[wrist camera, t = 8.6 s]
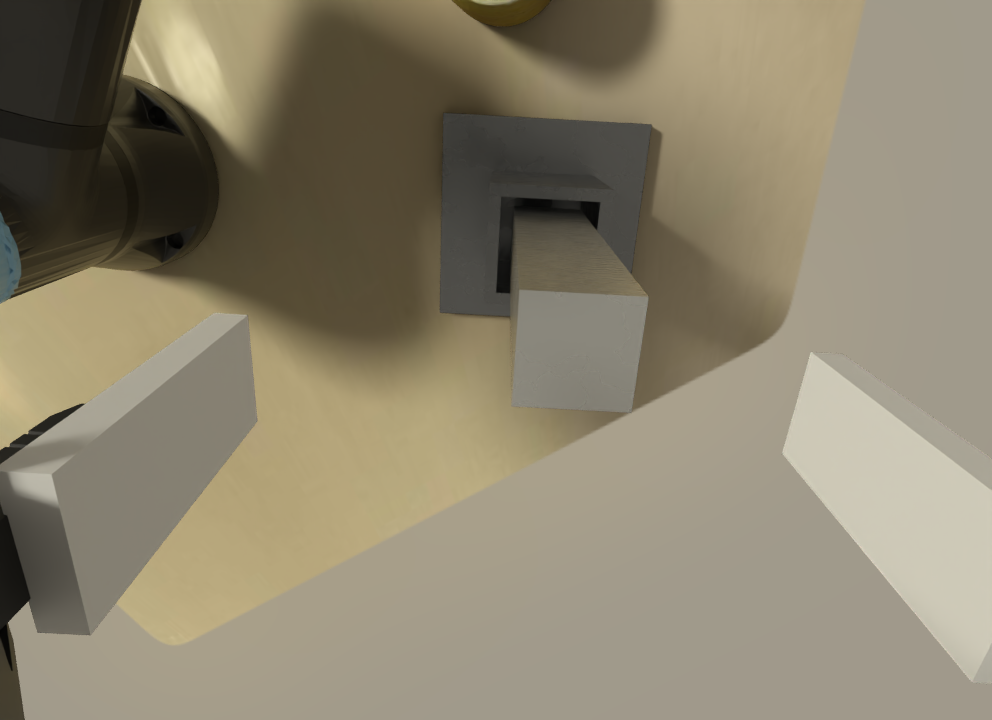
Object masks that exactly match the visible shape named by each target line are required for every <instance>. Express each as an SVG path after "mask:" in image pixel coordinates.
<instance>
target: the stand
mask: <svg viewBox="0 0 992 720" xmlns="http://www.w3.org/2000/svg"><path fill="white" fill-rule="evenodd" d="M651 126H652V125H651V124H633V123H615V122H597V121H579V120H561V119H543V118H525V117H508V116H490V115H472V114H454V113H443V166H442V221H441V275H440V312H441V313H459V314H477V315H495V316H510V261H511V245H512V229H513V212H514V206H526V207H544V208H562V209H580V210H581V211H582V212H583V213H584V215H585V216H586V217H587V219H588V220H589V221H590V222H591V224H592V225H593V226H594V228H595V229H596V230H597V231H598V233H599V234H600V235H601V236H602V238H603V239H604V240H605V242H606V243H607V244H608V245H609V247H610V248H611V249H612V251H613V252H614V253H615V254H616V256H617V257H618V258H619V259H620V261H621V262H622V263H623V265H624V266H625V267H626V268H627V270H628V271H629V272H630V274H631V272H632V265H633V257H634V250H635V243H636V236H637V228H638V221H639V214H640V206H641V199H642V192H643V184H644V177H645V170H646V163H647V155H648V148H649V141H650V133H651Z"/></svg>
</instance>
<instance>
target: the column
mask: <svg viewBox="0 0 992 720" xmlns="http://www.w3.org/2000/svg"><path fill="white" fill-rule="evenodd" d="M648 299H649V296H648V295H647V294H646V293H645V291H644V290H643V289H642V288H641V286H640V285H639V284H638V282H637V281H636V280H635V279H634V277H633V276H632V275H631V274H630V272H629V271H628V270H627V268H626V267H625V266H624V265H623V263H622V262H621V261H620V259H619V258H618V257H617V256H616V254H615V253H614V252H613V251H612V249H611V248H610V247H609V245H608V244H607V243H606V242H605V240H604V239H603V238H602V236H601V235H600V234H599V233H598V231H597V230H596V229H595V228H594V226H593V225H592V224H591V222H590V221H589V220H588V219H587V217H586V216H585V215H584V213H583V212H582V211H581V210H580V209H562V208H544V207H526V206H514V212H513V229H512V245H511V261H510V320H511V400H512V406H516V407H535V408H553V409H571V410H589V411H608V412H626V413H631V412H632V406H633V399H634V392H635V386H636V379H637V372H638V366H639V359H640V352H641V346H642V339H643V332H644V326H645V319H646V312H647V306H648Z"/></svg>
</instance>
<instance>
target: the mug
mask: <svg viewBox="0 0 992 720" xmlns="http://www.w3.org/2000/svg"><path fill="white" fill-rule="evenodd" d="M452 1H453V2H454V3H455V4H456V5H457V6H459V7H460V8H461V9H462V10H463V11H464V12H466V13H467V14H468V15H470V16H471V17H472V18H474V19H476V20H478V21H480V22H482V23H485V24H489V25H492V26H513V25H517V24H521V23H523V22H526V21H528V20H529V19H531V18H533V17H534V16H536V15H537V14H538V13H539V12H540V11H542V10H543V9H544V8H545V7H546V6H547V5H548V4H549V2H550V1H551V0H452Z"/></svg>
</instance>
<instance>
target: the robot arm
mask: <svg viewBox="0 0 992 720" xmlns="http://www.w3.org/2000/svg"><path fill="white" fill-rule="evenodd" d="M141 1H142V0H0V303H2V302H4V301H6V300H8V299H10V298H13V297H15V296H18V295H21V294H23V293H26V292H28V291H31V290H33V289H36V288H39V287H41V286H44V285H46V284H49V283H51V282H54V281H57V280H59V279H62V278H64V277H67V276H69V275H72V274H75V273H77V272H80V271H82V270H85V269H87V268H90V267H99V268H108V269H116V270H126V271H135V270H145V269H151V268H155V267H158V266H162V265H164V264H167V263H169V262H171V261H174V260H176V259H178V258H180V257H182V256H184V255H186V254H187V253H189V252H190V251H191V250H193V249H194V248H195V247H196V246H197V245H198V244H199V243H200V242H201V241H202V239H203V238H204V237H205V235H206V234H207V232H208V231H209V229H210V227H211V225H212V222H213V220H214V217H215V214H216V209H217V204H218V194H219V188H218V177H217V171H216V166H215V162H214V159H213V156H212V153H211V151H210V148H209V146H208V144H207V142H206V140H205V138H204V136H203V134H202V133H201V131H200V129H199V128H198V126H197V125H196V124H195V122H194V121H193V120H192V118H191V117H190V116H189V115H188V114H187V112H186V111H185V110H184V109H183V108H182V107H181V106H180V105H179V104H178V103H176V102H175V101H174V100H173V99H172V98H171V97H169V96H168V95H167V94H165V93H164V92H162V91H161V90H159V89H158V88H156V87H154V86H152V85H150V84H148V83H146V82H144V81H142V80H139V79H137V78H134V77H131V76H127V75H123V74H122V73H123V70H124V66H125V62H126V58H127V54H128V51H129V47H130V43H131V39H132V35H133V32H134V28H135V24H136V20H137V16H138V13H139V9H140V5H141ZM256 422H257V411H256V400H255V389H254V378H253V367H252V356H251V345H250V334H249V323H248V315H240V314H225V313H213V314H212V315H210V316H209V317H208V318H206V319H205V320H203V321H202V322H201V323H199V324H198V325H196V326H195V327H193V328H192V329H191V330H189V331H188V332H186V333H185V334H184V335H182V336H181V337H179V338H178V339H177V340H175V341H174V342H172V343H171V344H169V345H168V346H167V347H165V348H164V349H162V350H161V351H160V352H158V353H157V354H155V355H154V356H153V357H151V358H150V359H148V360H147V361H145V362H144V363H143V364H141V365H140V366H138V367H137V368H136V369H134V370H133V371H131V372H130V373H128V374H127V375H126V376H124V377H123V378H121V379H120V380H119V381H117V382H116V383H114V384H113V385H112V386H110V387H109V388H107V389H106V390H104V391H103V392H102V393H100V394H99V395H97V396H96V397H95V398H93V399H92V400H90V401H89V402H88V403H86V404H79V405H77V406H74V407H72V408H69V409H67V410H64V411H62V412H59V413H57V414H54V415H52V416H50V417H49V418H47V419H46V420H44V421H43V422H41V423H40V424H38V425H37V426H35V427H34V428H32V429H31V430H29V433H28V434H24V435H22V436H21V437H19V438H18V439H16V440H15V441H13V442H12V443H10V447H4V448H3V449H1V450H0V720H25V719H24V712H23V705H22V698H21V691H20V684H19V677H18V670H17V664H16V656H15V649H14V643H13V638H12V635H11V632H10V629H9V625H8V622H9V621H10V620H11V619H12V617H13V616H14V615H15V614H16V613H17V612H18V611H19V610H20V609H21V608H22V607H23V606H24V605H25V604H26V603H27V602H28V601H29V605H30V608H31V612H32V615H33V619H34V622H35V625H36V629H37V632H38V633H57V634H76V635H91V634H92V633H93V632H94V630H95V629H96V628H97V627H98V625H99V624H100V623H101V621H102V620H103V619H104V618H105V616H106V615H107V614H108V612H109V611H110V610H111V609H112V607H113V606H114V605H115V604H116V602H117V601H118V600H119V598H120V597H121V596H122V595H123V593H124V592H125V591H126V589H127V588H128V587H129V586H130V584H131V583H132V582H133V580H134V579H135V578H136V577H137V575H138V574H139V573H140V571H141V570H142V569H143V568H144V566H145V565H146V564H147V562H148V561H149V560H150V559H151V557H152V556H153V555H154V553H155V552H156V551H157V550H158V548H159V547H160V546H161V544H162V543H163V542H164V541H165V539H166V538H167V537H168V535H169V534H170V533H171V532H172V530H173V529H174V528H175V526H176V525H177V524H178V523H179V521H180V520H181V519H182V517H183V516H184V515H185V514H186V512H187V511H188V510H189V508H190V507H191V506H192V505H193V503H194V502H195V501H196V499H197V498H198V497H199V496H200V494H201V493H202V492H203V490H204V489H205V488H206V487H207V485H208V484H209V483H210V481H211V480H212V479H213V478H214V476H215V475H216V474H217V473H218V471H219V470H220V469H221V467H222V466H223V465H224V464H225V462H226V461H227V460H228V458H229V457H230V456H231V455H232V453H233V452H234V451H235V449H236V448H237V447H238V446H239V444H240V443H241V442H242V440H243V439H244V438H245V437H246V435H247V434H248V433H249V431H250V430H251V429H252V428H253V426H254V425H255V424H256ZM782 454H783V455H784V456H785V458H786V459H787V460H788V461H789V462H790V464H791V465H792V466H793V467H794V468H795V470H796V471H797V472H798V473H799V474H800V476H801V477H802V478H803V479H804V481H805V482H806V483H807V484H808V485H809V487H810V488H811V489H812V490H813V491H814V492H815V494H816V495H817V496H818V497H819V499H820V500H821V501H822V502H823V503H824V505H825V506H826V507H827V508H828V509H829V511H830V512H831V513H832V514H833V515H834V517H835V518H836V519H837V520H838V521H839V523H840V524H841V525H842V526H843V528H844V529H845V530H846V531H847V532H848V533H849V535H850V536H851V537H852V538H853V540H854V541H855V542H856V543H857V544H858V546H859V547H860V548H861V549H862V550H863V552H864V553H865V554H866V555H867V556H868V557H869V559H870V560H871V561H872V562H873V564H874V565H875V566H876V567H877V568H878V570H879V571H880V572H881V573H882V574H883V576H884V577H885V578H886V579H887V581H888V582H889V583H890V584H891V585H892V587H893V588H894V589H895V590H896V591H897V593H898V594H899V595H900V596H901V597H902V599H904V601H905V602H906V603H907V605H908V606H909V607H910V608H911V609H912V611H913V612H914V613H915V614H916V615H917V617H918V618H919V619H920V620H921V621H922V623H923V624H924V625H925V626H926V628H927V629H928V630H929V631H930V632H931V633H932V635H933V636H934V637H935V638H936V640H937V641H938V642H939V643H940V644H941V645H942V647H943V648H944V649H945V650H946V652H947V653H948V654H949V655H950V656H951V658H952V659H953V660H954V661H955V662H956V664H957V665H958V666H959V667H960V668H961V670H962V671H963V672H964V673H965V674H966V676H967V677H968V678H969V679H970V681H971V682H976V683H992V458H990V457H989V456H988V455H986V454H985V453H983V452H982V451H980V450H979V449H977V448H976V447H975V446H973V445H972V444H971V443H969V442H968V441H966V440H965V439H963V438H962V437H960V436H959V435H958V434H956V433H955V432H953V431H952V430H950V429H949V428H948V427H946V426H945V425H944V424H942V423H941V422H939V421H938V420H936V419H935V418H934V417H932V416H931V415H929V414H928V413H926V412H925V411H924V410H922V409H921V408H919V407H918V406H916V405H915V404H914V403H912V402H911V401H909V400H908V399H907V398H905V397H903V396H902V395H901V394H899V393H898V392H897V391H895V390H894V389H892V388H891V387H889V386H888V385H887V384H885V383H884V382H882V381H881V380H879V379H878V378H877V377H875V376H874V375H872V374H871V373H869V372H868V371H867V370H865V369H864V368H862V367H861V366H860V365H858V364H856V363H855V362H854V361H852V360H851V359H850V358H848V357H847V356H845V355H844V354H837V353H822V352H811V353H810V357H809V360H808V364H807V367H806V371H805V374H804V378H803V381H802V385H801V388H800V392H799V396H798V399H797V402H796V406H795V409H794V413H793V417H792V420H791V424H790V427H789V431H788V435H787V438H786V442H785V445H784V449H783V452H782Z"/></svg>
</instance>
